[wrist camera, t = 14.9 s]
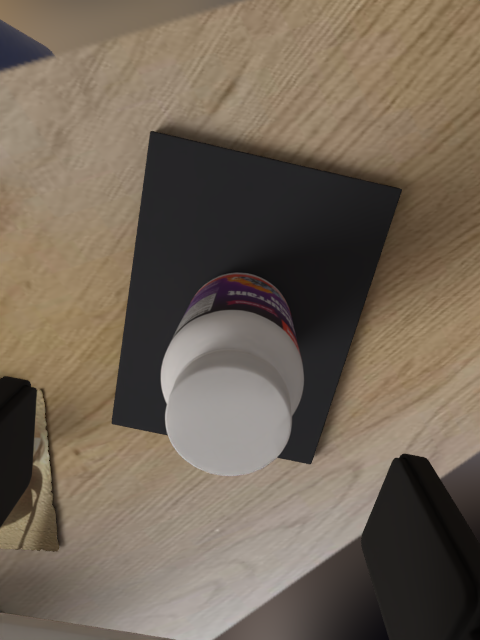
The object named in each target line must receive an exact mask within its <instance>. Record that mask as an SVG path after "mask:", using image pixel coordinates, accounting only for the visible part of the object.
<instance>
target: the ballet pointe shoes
mask: <svg viewBox="0 0 480 640" xmlns="http://www.w3.org/2000/svg"><path fill="white" fill-rule="evenodd" d="M42 396H43V395H42V391H41V390H38V392H37V400H36V417H35V434H34V451H33V468H32V477H31V480H30V483H29V485H28V487H27V489H26V490H25V492H24V493H23V495H22V496H21V498H20V499H19V501H18V502H17V504H16V505H15V507H14V508H13V510H12V511H11V513H10V514H9V516H8V517H7V518H6V520H5V521H4V523H3V524H2V526H1V527H0V548H2V549H11V548H12V549H15V550H19V549H21V548H22V549H23V550H29V549H31V550H35V549H36V550H37V551H40V550H41V549H43V550H45V551H53V552H54V551H56V552H57V551H58V549H59V543H58V541H57V537H56V536H57V534H58V533H57V532H56V530H57V525H56V524H57V523H56V514H55V512H54V510H55V509H54V508H53V506H52V502H53V501H52V499H53V498H52V497H53V494H52V493H51V492H50V491H51V490H52V489H53V487H51V486H52V485H51V484H52V483H50V482H51V476H50V475H51V474H50V473H51V471H50V469H51V468H50V462H49V457H50V456H49V454H48V451H47V449H49V448H48V447H47V446H48V440H47V439H46V438H47V435H48V432H47V431H46V430H45V426H46V425H47V424H46V421H44V420H46V419H45V418H44V417H45V415H44V414H45V413H46V412H45V407H44V406H45V403H44V399H42Z"/></svg>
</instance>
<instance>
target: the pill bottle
mask: <svg viewBox="0 0 480 640" xmlns="http://www.w3.org/2000/svg"><path fill="white" fill-rule="evenodd" d="M303 386H304V373H303V364H302V359H301V355H300V352H299V347H298V343H297V339H296V334H295V330H294V326H293V321H292V317H291V313H290V309H289V307H288V305H287V302H286V300H285V299H284V297H283V296H282V294H281V293H280V291H279V290H278V289H277V288H276V287H275V286H273V285H272V284H271V283H269V282H268V281H266V280H265V279H263V278H261V277H258V276H256V275H252V274H248V273H229V274H224V275H221V276H218V277H216V278H214V279H212V280H211V281H209V282H208V283H206V284H205V285H204V286H203V287H202V288H201V289H200V290H199V291H198V292H197V293H196V295H195V296H194V298H193V299H192V301H191V303H190V305H189V307H188V309H187V311H186V312H185V314H184V316H183V318H182V320H181V322H180V324H179V326H178V328H177V330H176V332H175V334H174V336H173V338H172V340H171V342H170V344H169V346H168V348H167V351H166V353H165V356H164V359H163V363H162V368H161V387H162V392H163V395H164V398H165V401H166V403H167V406H166V412H165V424H166V430H167V434H168V436H169V439H170V441H171V443H172V445H173V447H174V448H175V449H176V451H177V452H178V453H179V454H180V455H181V457H182V458H183V459H185V460H186V461H187V462H189V463H190V464H191V465H193V466H195V467H196V468H198V469H200V470H203V471H206V472H208V473H211V474H216V475H223V476H238V475H245V474H249V473H252V472H255V471H257V470H260V469H262V468H264V467H265V466H267V465H268V464H270V463H271V462H273V461H274V460H275V459H276V458H277V457H278V456H279V455H280V454H281V452H282V451H283V449H284V448H285V446H286V444H287V442H288V440H289V437H290V433H291V428H292V415H293V414H294V412H295V410H296V409H297V407H298V405H299V402H300V399H301V396H302V392H303Z"/></svg>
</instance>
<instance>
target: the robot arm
mask: <svg viewBox="0 0 480 640" xmlns="http://www.w3.org/2000/svg"><path fill="white" fill-rule="evenodd" d="M36 400H37V390H36V388H33V387H31V384H30V382H29V381H28V380H23V379H18V378H13V377H8V376H4V377H3V378H1V379H0V527H1V526H2V524H3V523H4V521H5V520H6V518H7V517H8V516H9V514H10V513H11V511H12V510H13V508H14V507H15V505H16V504H17V502H18V501H19V499H20V498H21V496H22V495H23V493H24V492H25V490H26V489H27V487H28V485H29V483H30V480H31V477H32V468H33V451H34V434H35V417H36ZM361 544H362V550H363V553H364V557H365V560H366V563H367V567H368V569H369V573H370V577H371V580H372V583H373V587H374V590H375V593H376V597H377V600H378V603H379V606H380V609H381V613H382V616H383V620H384V623H385V626H386V629H387V633H388V636H389V640H480V543H479V542H478V540H477V538H476V537H475V535H474V534H473V532H472V530H471V529H470V527H469V525H468V524H467V522H466V521H465V519H464V517H463V516H462V514H461V513H460V511H459V509H458V508H457V506H456V504H455V503H454V501H453V500H452V498H451V496H450V495H449V493H448V492H447V490H446V488H445V486H444V485H443V483H442V482H441V480H440V478H439V477H438V475H437V473H436V472H435V470H434V469H433V467H432V465H431V464H430V462H429V461H428V460H427V458H424V457H420V456H415V455H409V454H402V455H401V456H400V457H399V458H395V459H394V460H393V461H392V463H391V466H390V468H389V471H388V473H387V475H386V478H385V480H384V483H383V485H382V487H381V490H380V492H379V495H378V497H377V500H376V502H375V504H374V507H373V509H372V512H371V514H370V516H369V519H368V521H367V524H366V526H365V529H364V531H363V534H362V540H361ZM0 640H174V639H168V638H162V637H155V636H149V635H143V634H137V633H130V632H124V631H117V630H111V629H105V628H98V627H92V626H85V625H79V624H72V623H66V622H59V621H53V620H46V619H40V618H34V617H27V616H21V615H14V614H7V613H0Z"/></svg>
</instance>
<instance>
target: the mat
mask: <svg viewBox="0 0 480 640" xmlns="http://www.w3.org/2000/svg"><path fill="white" fill-rule="evenodd" d="M401 192H402V189H400V188H395V187H391V186H387V185H382V184H378V183H374V182H369V181H365V180H361V179H357V178H352V177H348V176H344V175H339V174H335V173H331V172H326V171H322V170H318V169H313V168H309V167H305V166H301V165H296V164H292V163H288V162H283V161H279V160H275V159H270V158H266V157H262V156H257V155H253V154H249V153H244V152H240V151H236V150H232V149H227V148H223V147H219V146H214V145H210V144H206V143H201V142H197V141H193V140H188V139H184V138H180V137H176V136H171V135H167V134H163V133H158V132H154V131H151V132H150V138H149V146H148V153H147V161H146V168H145V176H144V183H143V191H142V198H141V206H140V213H139V221H138V228H137V236H136V243H135V251H134V258H133V266H132V273H131V281H130V288H129V296H128V303H127V311H126V318H125V326H124V333H123V341H122V348H121V355H120V363H119V370H118V378H117V385H116V393H115V400H114V408H113V415H112V424H115V425H120V426H125V427H130V428H134V429H139V430H144V431H149V432H154V433H159V434H164V435H168V434H167V430H166V424H165V412H166V406H167V403H166V401H165V398H164V395H163V392H162V387H161V368H162V363H163V359H164V356H165V353H166V351H167V348H168V346H169V344H170V342H171V340H172V338H173V336H174V334H175V332H176V330H177V328H178V326H179V324H180V322H181V320H182V318H183V316H184V314H185V312H186V311H187V309H188V307H189V305H190V303H191V301H192V299H193V298H194V296H195V295H196V293H197V292H198V291H199V290H200V289H201V288H202V287H203V286H204V285H205V284H206V283H208V282H209V281H211V280H212V279H214V278H216V277H218V276H221V275H224V274H229V273H248V274H252V275H256V276H258V277H261V278H263V279H265V280H266V281H268V282H269V283H271V284H272V285H273V286H275V287H276V288H277V289H278V290H279V291H280V293H281V294H282V296H283V297H284V299H285V300H286V302H287V305H288V307H289V309H290V313H291V317H292V321H293V326H294V330H295V334H296V339H297V343H298V347H299V352H300V355H301V359H302V364H303V373H304V386H303V392H302V396H301V399H300V402H299V405H298V407H297V409H296V410H295V412H294V414H293V415H292V428H291V433H290V437H289V440H288V442H287V444H286V446H285V448H284V449H283V451H282V452H281V454H280V455H279V456H278V457H277V458H282V459H287V460H291V461H296V462H301V463H306V464H311V463H312V460H313V457H314V454H315V451H316V448H317V445H318V442H319V439H320V436H321V433H322V430H323V427H324V424H325V421H326V418H327V415H328V412H329V409H330V406H331V403H332V400H333V397H334V394H335V391H336V388H337V385H338V382H339V379H340V376H341V373H342V370H343V367H344V364H345V361H346V358H347V355H348V352H349V349H350V346H351V343H352V340H353V337H354V334H355V330H356V327H357V324H358V321H359V318H360V315H361V312H362V309H363V306H364V303H365V300H366V297H367V294H368V291H369V288H370V285H371V282H372V279H373V276H374V273H375V270H376V267H377V264H378V261H379V258H380V255H381V252H382V249H383V246H384V243H385V240H386V237H387V234H388V231H389V228H390V225H391V222H392V219H393V216H394V213H395V210H396V207H397V204H398V201H399V198H400V195H401Z"/></svg>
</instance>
